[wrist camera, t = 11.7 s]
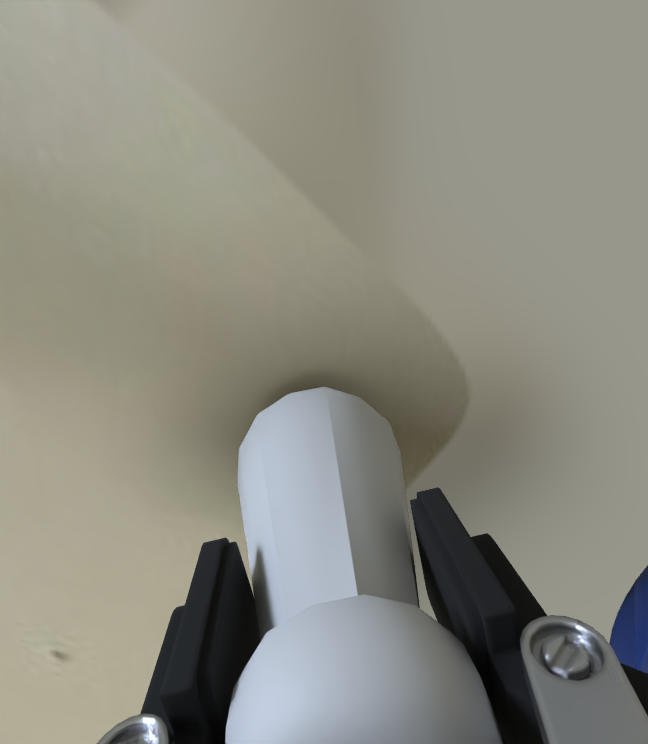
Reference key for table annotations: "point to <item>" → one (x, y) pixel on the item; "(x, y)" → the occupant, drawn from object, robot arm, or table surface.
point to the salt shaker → (341, 591)
